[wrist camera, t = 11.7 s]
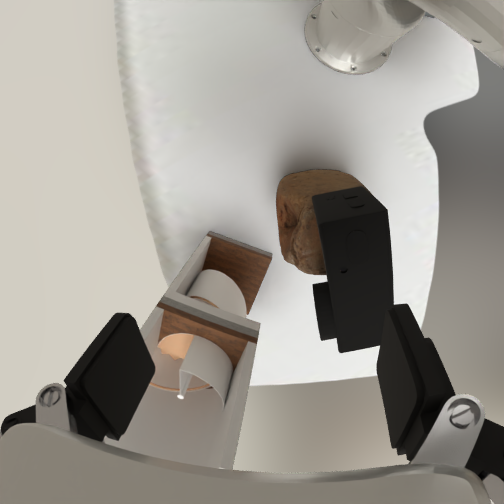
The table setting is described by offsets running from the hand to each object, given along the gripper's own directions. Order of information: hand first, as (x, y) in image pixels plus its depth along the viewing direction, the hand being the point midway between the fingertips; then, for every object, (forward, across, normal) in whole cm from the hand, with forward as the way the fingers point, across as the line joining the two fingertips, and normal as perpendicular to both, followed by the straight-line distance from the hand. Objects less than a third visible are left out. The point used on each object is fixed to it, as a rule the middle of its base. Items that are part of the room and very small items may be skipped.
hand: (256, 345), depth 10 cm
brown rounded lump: (+35, -4, +3) cm, 36 cm away
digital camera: (+15, -5, +4) cm, 17 cm away
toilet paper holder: (+35, +11, +15) cm, 40 cm away
